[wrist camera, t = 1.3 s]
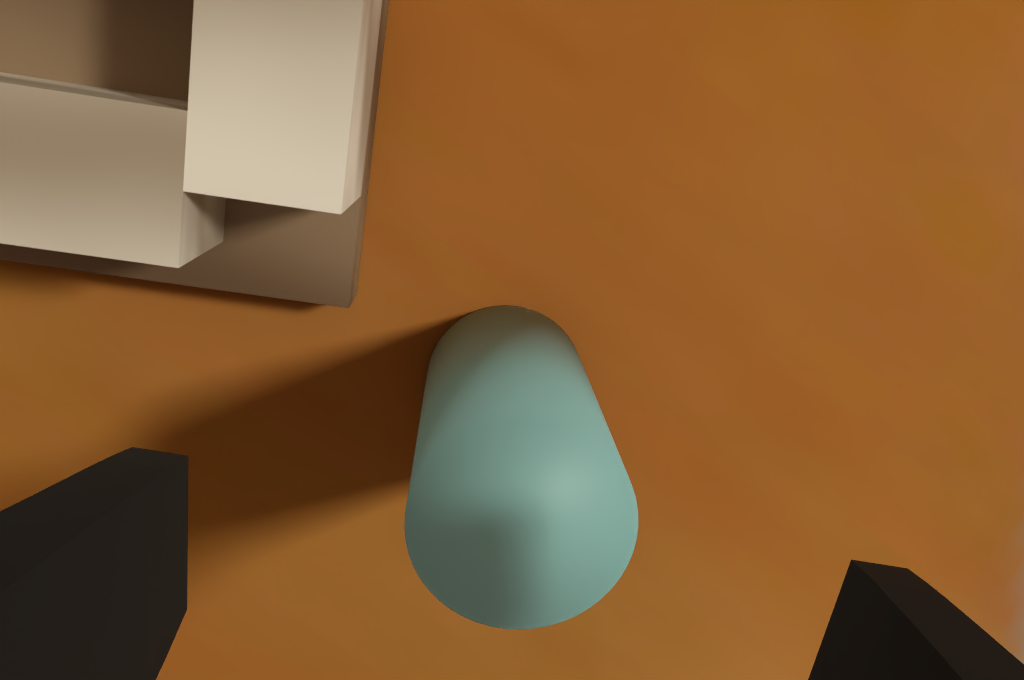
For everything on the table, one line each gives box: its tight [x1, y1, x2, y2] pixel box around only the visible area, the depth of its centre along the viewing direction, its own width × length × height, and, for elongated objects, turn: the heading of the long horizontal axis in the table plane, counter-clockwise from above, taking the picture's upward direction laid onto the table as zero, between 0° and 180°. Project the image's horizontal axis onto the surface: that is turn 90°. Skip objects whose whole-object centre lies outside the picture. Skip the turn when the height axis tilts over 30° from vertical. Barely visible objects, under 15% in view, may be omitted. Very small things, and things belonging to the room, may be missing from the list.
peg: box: [404, 305, 638, 629], centre depth 17 cm, size 4×4×7 cm
